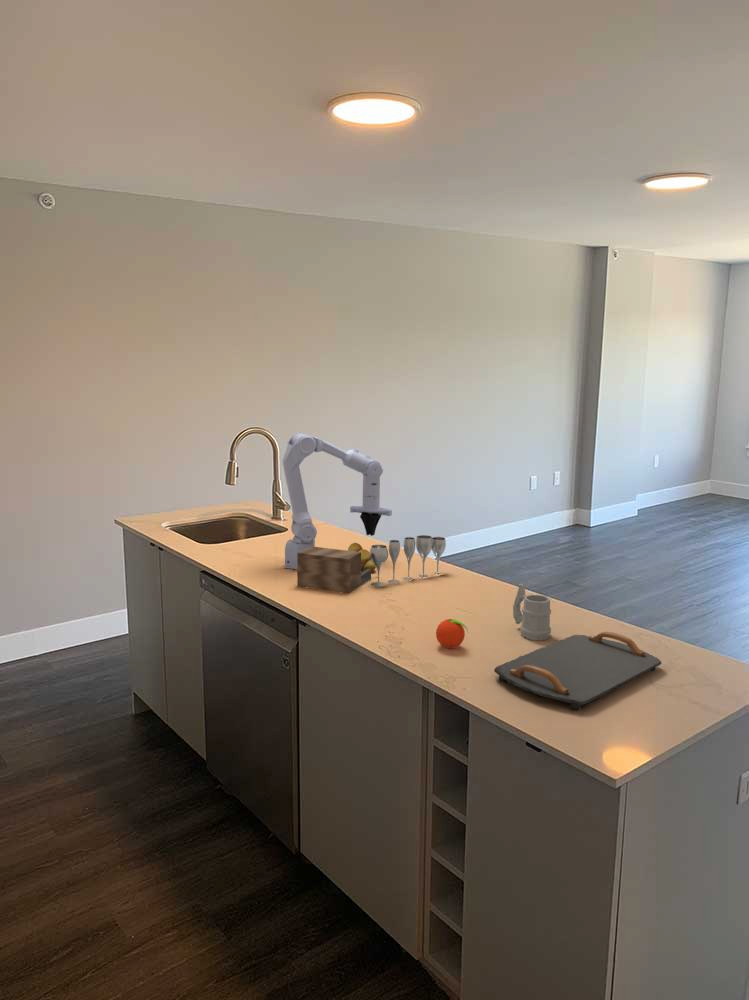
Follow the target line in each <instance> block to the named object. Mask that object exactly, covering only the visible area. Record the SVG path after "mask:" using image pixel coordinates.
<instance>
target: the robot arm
mask: <svg viewBox="0 0 749 1000" xmlns="http://www.w3.org/2000/svg"><path fill="white" fill-rule="evenodd" d="M319 452H320V453H321V452H324V453H326V454H328V455H331V456H333V457H335V458H338V459H340V460H341V461H342V464H343V466H346V467H347V468H349V469H352V470H353V471H356V472H358V473H361V474H362V506H361V505H351V506H349V507H350V508H349V509H350V510H349V511H350V512H349V513H353V514H354V513H357V514H360V516H359V517H360V520H361V521H362V523H363V526H364V529H365V535H366V536H371V537H372V536H375V534H376V530H377V526H378V523H379V522H380V519H381V517H382V516H387V517H391V516H393V509H390V508H389V509H388V508H383V507H380V503H381V502H380V498H381V497H380V495H381V493H380V490H381V488H380V486H381V476H382V474H383V473H384V469H383V467H382V464H381V463H380V462H379V461H376V460H374V459H372V458H371V456H368V455H364V454H362V453H360V450H357V449H355V448H354V449H349V450H344V449H343V448H340V447H338V446H336V445H334V444H333V443H331V442H329V441H327V440H324V439H323V438H319V437H316V436H313V435H309V434H305V433H304V432H296V433H295V434H293V435H292V436H291V437H290V438H289V440H288V441H287V446H286V449H285V452H284V456H283V458H282V466H283V471H284V476H285V480H286V481H285V482H286V485H287V491H288V496H289V501H290V505H291V510H292V515H291V520H292V523H291V526H290V527H291V532H292V534H293V535H294V536H293V538H292V539H291V538H290V539H288V540H287V541H286V543H285V545H284V565H283V568H284V569H285V568H286V569H292V570H297V553H298V552H300V551H302V550H304V549H307V548H309V547H311V546H313V547H316V546H315V545H316V542H315V540H316V537H317V534H318V533H317V532H318V531H317V528H316V527H315V525H314V524H313V521H312V517H311V516H310V513H309V509H308V503H307V500H306V496H305V495H306V494H305V489H304V484H303V477H302V474H301V469H300V465H301V464H302V463H303V461H304V460H305V459H306V458H307V457H309V456H310V455H312V454H313V453H319Z"/></svg>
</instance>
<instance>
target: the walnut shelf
mask: <svg viewBox="0 0 749 1000" xmlns="http://www.w3.org/2000/svg"><path fill="white" fill-rule="evenodd" d="M296 570H297V571H296V573H297V576H296V577H297V579H296V580H297V583H296V584H297V587H298V586H300V588H305V587H308V588H307V589H312V588H314V590H319V589H320V591H326V590H327V591H326V592H333V591H334V593H339V592H342V593H341V594H346V593H348V594H347V595H349V594H350V593H352V592H354V591H355V590H357V589H358V588H360V587H361V586H363V585H364V584H366V583H367V582H369V581H370V580H371V579H372V571H371V570H369V569H367V570H365V571H363V572H361V552H354V551H348V550H346V549H345V550H344V549H337V548H328V547H320V546H315V547H313V546H311V547H309V548H307V549H304V550H302V551H300V552H298V553H297V569H296Z"/></svg>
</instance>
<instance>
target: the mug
mask: <svg viewBox="0 0 749 1000" xmlns="http://www.w3.org/2000/svg"><path fill="white" fill-rule="evenodd" d="M522 602H523V606H522V609H521V603H522ZM512 605H513V606H512V611H513V612H512V613H513V614H512V616H513V619H514V622H515V624H516V625H519V624H520V623H521V625H520V626H519V627H520V628H519V630H520V635H521V637H522V638H524V639H525V638H526V639H527V640H529V641H530V640H531V641H540V642H541V641H546V640H548V639H549V638H550V634H551V633H552V627H551V622H550V620H551V618H550V617H551V615H552V614H551V613H552V610H551V598H550V597H548V596H546V595H542V594H526V590H525V586H524V584H523V583H519V584H518V589H517V593H516V596H515V599H514V603H513V604H512Z"/></svg>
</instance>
